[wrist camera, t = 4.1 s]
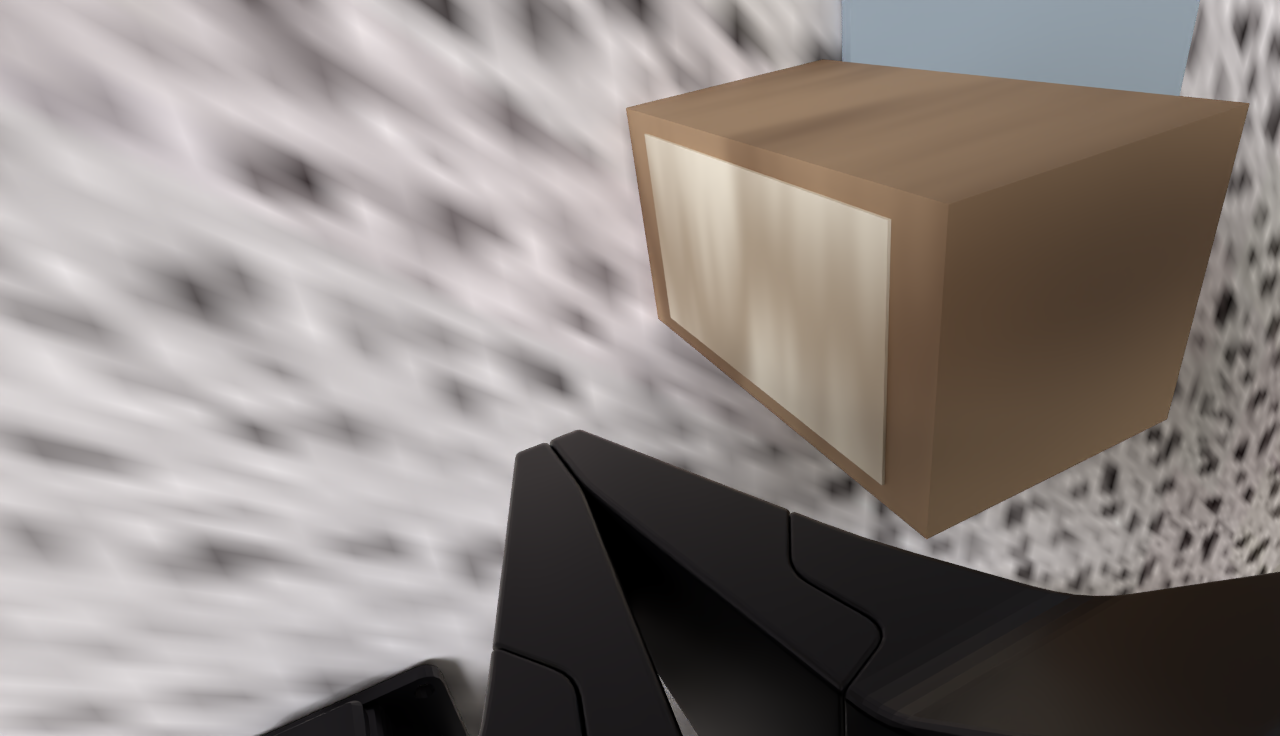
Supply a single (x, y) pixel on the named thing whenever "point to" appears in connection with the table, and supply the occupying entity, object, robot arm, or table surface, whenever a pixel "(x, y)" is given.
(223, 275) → the table surface
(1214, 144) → the brown rectangular block
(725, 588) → the robot arm
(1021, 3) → the pad
